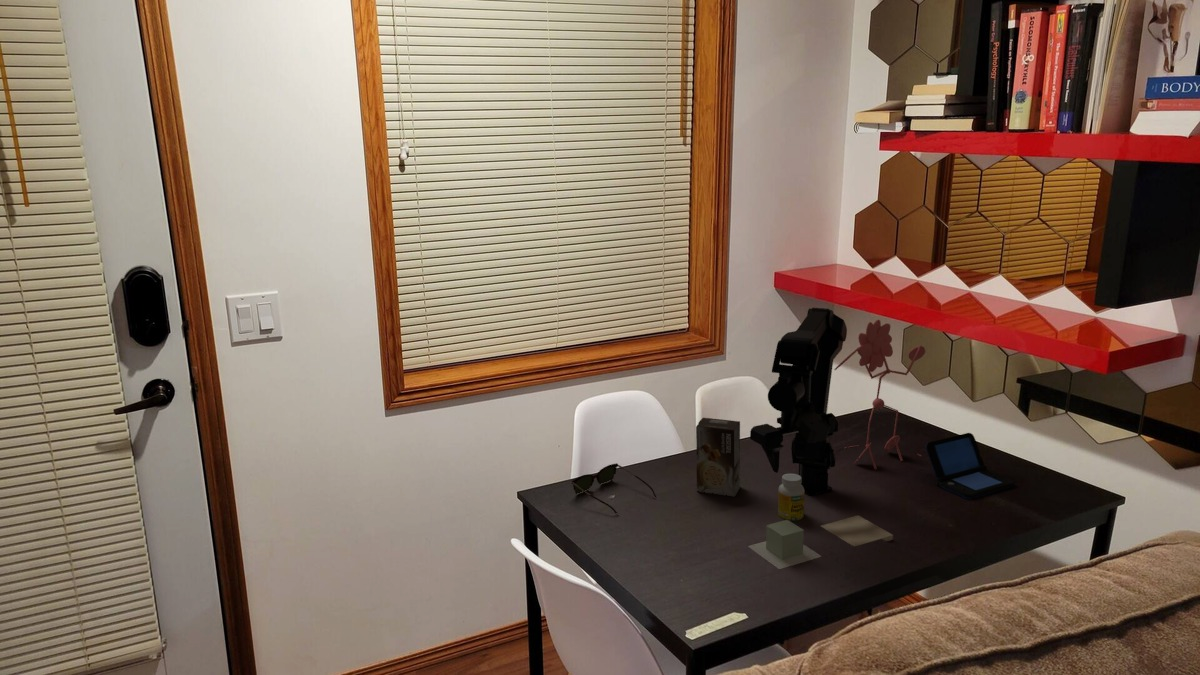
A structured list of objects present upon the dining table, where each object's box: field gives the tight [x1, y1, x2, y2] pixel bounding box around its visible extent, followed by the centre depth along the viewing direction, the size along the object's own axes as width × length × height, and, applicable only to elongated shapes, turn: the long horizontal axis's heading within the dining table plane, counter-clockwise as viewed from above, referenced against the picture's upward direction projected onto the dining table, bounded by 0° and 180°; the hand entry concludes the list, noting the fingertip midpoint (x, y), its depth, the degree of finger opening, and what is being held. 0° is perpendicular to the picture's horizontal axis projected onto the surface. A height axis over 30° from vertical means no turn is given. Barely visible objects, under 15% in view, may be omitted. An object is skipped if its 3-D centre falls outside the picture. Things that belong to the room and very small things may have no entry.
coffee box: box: [695, 417, 741, 497], centre depth 193 cm, size 9×6×16 cm
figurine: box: [833, 319, 926, 470], centre depth 207 cm, size 15×26×35 cm, turn 120°
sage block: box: [765, 519, 805, 560], centre depth 163 cm, size 5×5×5 cm
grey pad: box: [747, 540, 823, 570], centre depth 164 cm, size 10×10×1 cm
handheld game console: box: [925, 432, 1015, 500], centre depth 194 cm, size 16×13×9 cm
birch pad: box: [820, 514, 894, 548], centre depth 172 cm, size 10×10×1 cm
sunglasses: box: [571, 463, 657, 514], centre depth 191 cm, size 14×15×5 cm
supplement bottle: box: [777, 473, 806, 521], centre depth 178 cm, size 5×5×10 cm
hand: (793, 467), depth 176 cm, fingers open, 9 cm apart
